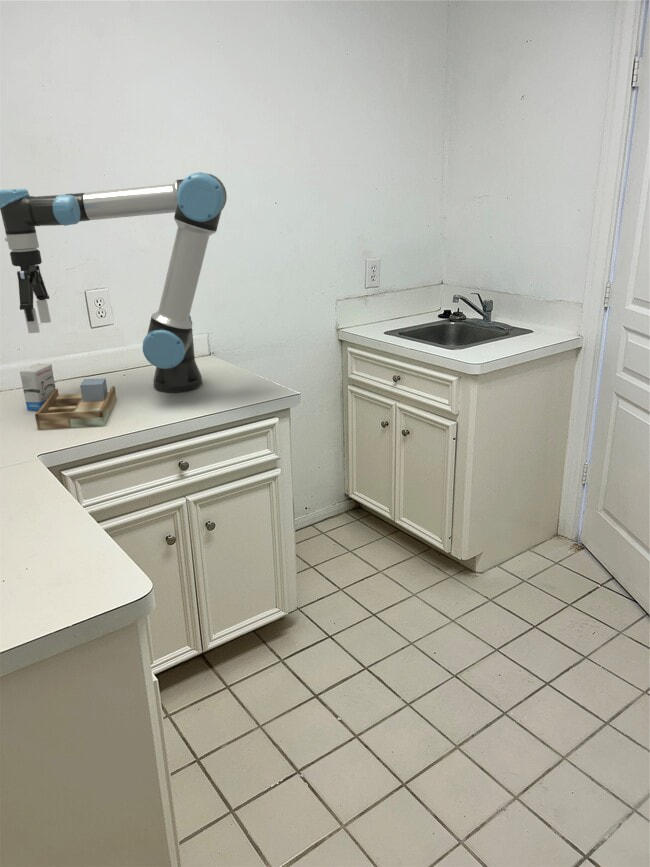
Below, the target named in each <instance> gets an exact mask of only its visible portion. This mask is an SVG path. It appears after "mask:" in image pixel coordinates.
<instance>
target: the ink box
mask: <svg viewBox="0 0 650 867" xmlns="http://www.w3.org/2000/svg"><path fill="white" fill-rule="evenodd" d="M52 366H53V365H52V364H50V363H34V364H32V365H30V366H27V367H25V368H23V369H21V370H20V371H19V375H20V380H21V386H22V390H23V395H24V400H25V405H26V410H27V411H36V412H38V410H39V409H40V408H41V406H42V405H43V404H44V403H45V401H46V400H47V399H48V397H49V396H50V395H51V394H52V392H53V391H54V390H55V389H57V388H56V383H55V377H54V370H53V367H52Z"/></svg>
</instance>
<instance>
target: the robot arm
mask: <svg viewBox="0 0 650 867" xmlns="http://www.w3.org/2000/svg"><path fill="white" fill-rule="evenodd" d="M227 197H228V195H227V190H226V187H225V185H224V183H223V182H222V181H221V180H220V179H219V178H218V177H217V176H215V175H213V174H210V173H206V172H202V171H201V172H193V173H190V174H188V175H187V176H186V177H185V178H181V179H176V180H175V181H174V183H171V184H161V185H149V186H140V187H129V188H121V189H120V188H119V189H117V188H116V189H108V190H100V191H99V190H96V191H88V192H87V191H86V192H78V193H77V192H76V193H65V194H55V195H40V196H32V195H30V193H29V191H28V189H26V188H14V189H12V188H11V189H1V190H0V214H1V219H2V223H3V228H4V232H5V235H6V237H5V239H4V241H5V242H7V246H8V249H9V250H10V253H9V255H10V261H11V265H12V266H13V267H19V268H20V270H18V271H16V274H17V281H18V294H19V296H18V297H19V309H20V310H21V311H23V312H24V317H25V323H26V326H27V332H28V334H39V333H40V332H41V331H40V326H39V322H38V316H39V321H40V324H47V323H48V324H49V323H51V322H52V320H51V316H50V315H51V314H50V310H49V305H48V300H50V295H49V294H48V290H47V287H46V284H45V282H44V280H43V279H44V278H43V276H42V273H41V267H40V266H39V265H41V264H42V263H43V262H42V256H41V251H40V250H39V247H40V246H39V241H38V240H39V239H38V235H37V230H36V227H40V226H41V227H43V226H44V227H46V226H47V227H50V226H53V227H54V226H55V227H56V226H65V227H66V226H67V227H68V226H70V225H71V226H72V225H77V224H79V223H81V222H89V221H96V220H97V221H99V220H107V219H108V220H109V219H118V218H119V219H120V218H131V217H140V216H150V215H151V216H152V215H161V214H173V213H174V216H173V220H174V221H175V223H176V225H177V230H176V234H175V238H174V243H173V247H172V251H171V255H170V260H169V264H168V267H167V268H168V269H167V273H166V278H165V281H164V286H163V290H162V294H161V299H160V302H159V305H158V306H159V308H158V310H157V311H155V312H154V313H152V314H151V317H150V321H149V325H148V330H147V333H146V335H145V337H144V339H143V341H142V352H143V356H144V357H145V359H146V360H147V361H148V363H149V364H151V365H152V366H154V367H155V372H154V375H153V376H154V377H153V388H154V389H155V390H157V391H159V392H164V393H181V392H182V393H183V392H188V391H194V390H196V389H199V388H200V387H202V385H203V377H202V374H201V372H200V370H199V367H198V364H197V362H196V357H195V345H194V335H193V334H194V333H193V321H192V316H191V311H192V307H193V303H194V299H195V294H196V291H197V287H198V283H199V279H200V274H201V271H202V266H203V262H204V258H205V254H206V251H207V246H208V242H209V239H210V236H212V235H214V234H216V233H217V230H218V228H219V227H218V226H219V223H220V218H221V215H222V211H223V210H224V208H225V206H226V204H227ZM34 296H35V297H36V299H37V300H36V306H37V311H38V316H37V312H36V308H34Z"/></svg>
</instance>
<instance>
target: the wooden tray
mask: <svg viewBox="0 0 650 867" xmlns="http://www.w3.org/2000/svg"><path fill="white" fill-rule="evenodd" d="M107 392H108V395H107V397H106V399H105V401H93V402H83V401H82V394H81V393H70V394H67V393H66V394H60V393H59V389H58V388H56V389H55V390H54V391H53V392H52V394H51V395H50V396H49V397H48V399H47V400H46V401H45V403H44V404H43V405H42V406H41V408H40V409H39V410H38V411H36V413H35V414H34V416H35V422H36V428H37V430H55V429H71V428H89V427H105V425H106V423H107V421H108V418H109V417H110V415H111V413H112V410H113V408H114V406H115V404H116V402H117V393H116V386H115V385H113V386H111V387H110V389H109V391H107Z"/></svg>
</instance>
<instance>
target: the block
mask: <svg viewBox="0 0 650 867" xmlns="http://www.w3.org/2000/svg"><path fill="white" fill-rule="evenodd" d="M106 378H107V377H106ZM106 378H105V377H104V378H103V377H102V378H101V377H99V378H84V379H83V380H82V382H81V384H79V386H80V387H79V388H80V394H82V401H83V402H93V401H105V399H106V397H107V395H108V392H109V391H108V387H107V386H108V385H107V379H106Z"/></svg>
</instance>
